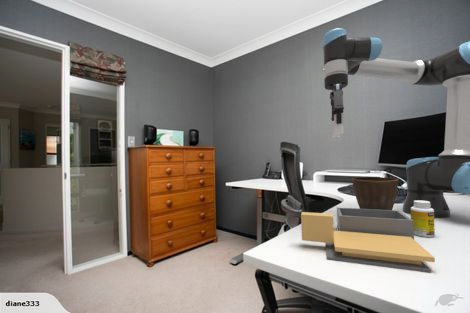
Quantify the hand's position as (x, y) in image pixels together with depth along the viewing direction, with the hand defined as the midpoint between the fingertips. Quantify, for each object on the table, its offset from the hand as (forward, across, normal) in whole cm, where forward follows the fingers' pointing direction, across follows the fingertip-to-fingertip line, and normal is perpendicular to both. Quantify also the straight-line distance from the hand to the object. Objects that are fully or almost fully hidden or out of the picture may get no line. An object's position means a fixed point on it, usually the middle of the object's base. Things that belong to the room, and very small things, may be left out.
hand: (337, 136), depth 78 cm
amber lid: (+31, +21, +2) cm, 38 cm away
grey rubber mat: (+32, +21, +5) cm, 38 cm away
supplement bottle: (+32, +1, +23) cm, 39 cm away
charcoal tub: (+32, +7, +8) cm, 33 cm away
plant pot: (+32, -12, +13) cm, 36 cm away
